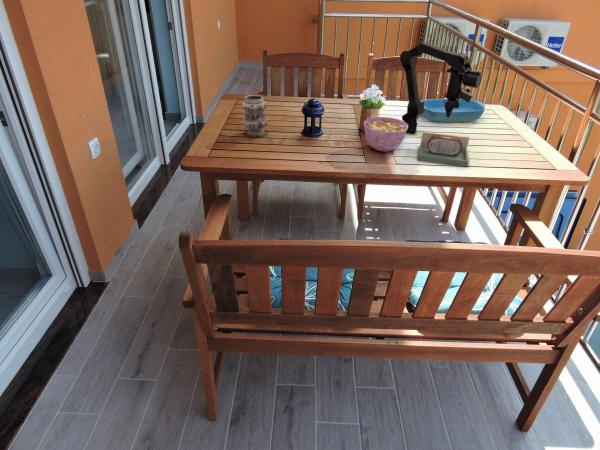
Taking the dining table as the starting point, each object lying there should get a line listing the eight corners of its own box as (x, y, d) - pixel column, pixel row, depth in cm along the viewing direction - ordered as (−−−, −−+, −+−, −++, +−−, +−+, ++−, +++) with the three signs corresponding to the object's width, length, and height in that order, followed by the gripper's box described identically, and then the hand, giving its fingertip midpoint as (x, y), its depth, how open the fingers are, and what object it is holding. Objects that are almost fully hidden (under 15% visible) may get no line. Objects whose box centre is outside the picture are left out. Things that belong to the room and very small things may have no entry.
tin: (460, 155, 189) (464, 137, 184) (460, 157, 186) (464, 140, 181) (425, 150, 192) (429, 133, 187) (425, 153, 190) (429, 135, 185)
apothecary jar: (262, 127, 215) (261, 92, 205) (271, 135, 206) (270, 99, 196) (240, 131, 211) (237, 95, 201) (248, 139, 202) (246, 102, 192)
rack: (418, 160, 185) (421, 144, 181) (419, 146, 198) (422, 131, 193) (467, 166, 180) (471, 150, 176) (465, 152, 193) (469, 137, 189)
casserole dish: (425, 124, 223) (427, 111, 219) (411, 111, 241) (413, 98, 237) (490, 122, 227) (493, 110, 223) (471, 109, 245) (474, 97, 241)
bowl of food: (369, 136, 207) (372, 114, 200) (409, 144, 199) (413, 121, 193) (355, 151, 192) (357, 127, 186) (397, 160, 185) (401, 135, 178)
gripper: (475, 91, 179) (466, 126, 188) (472, 80, 194) (465, 113, 203) (448, 88, 182) (440, 123, 191) (448, 78, 197) (441, 110, 205)
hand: (447, 117), depth 197 cm, fingers closed
